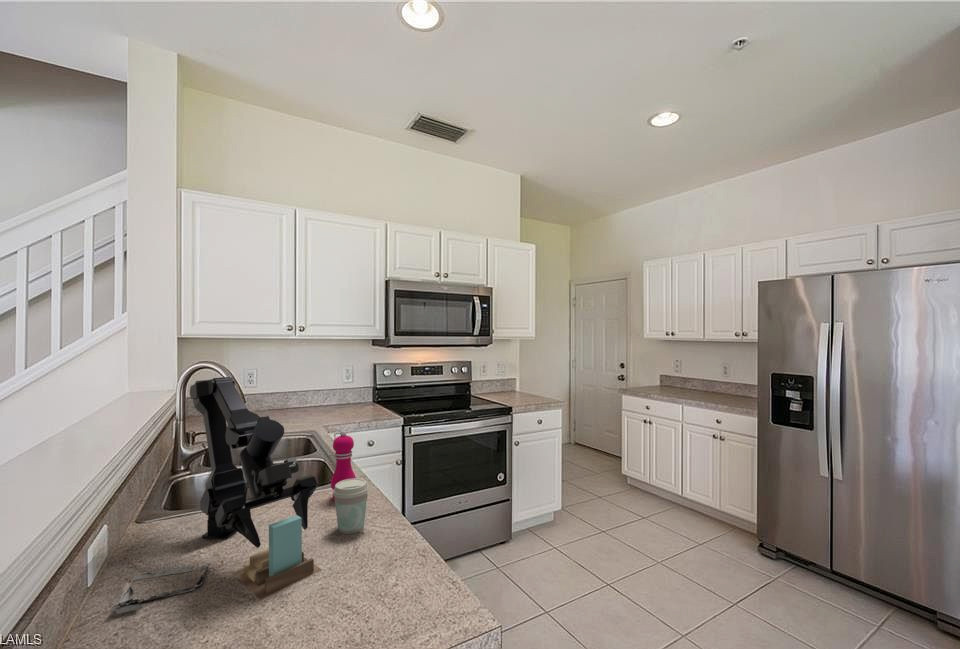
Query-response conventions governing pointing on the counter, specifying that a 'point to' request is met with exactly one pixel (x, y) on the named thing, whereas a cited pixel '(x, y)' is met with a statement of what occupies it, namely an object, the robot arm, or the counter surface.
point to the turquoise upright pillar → (285, 544)
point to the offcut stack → (256, 563)
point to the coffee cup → (351, 505)
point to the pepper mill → (342, 459)
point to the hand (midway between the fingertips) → (283, 537)
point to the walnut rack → (277, 578)
